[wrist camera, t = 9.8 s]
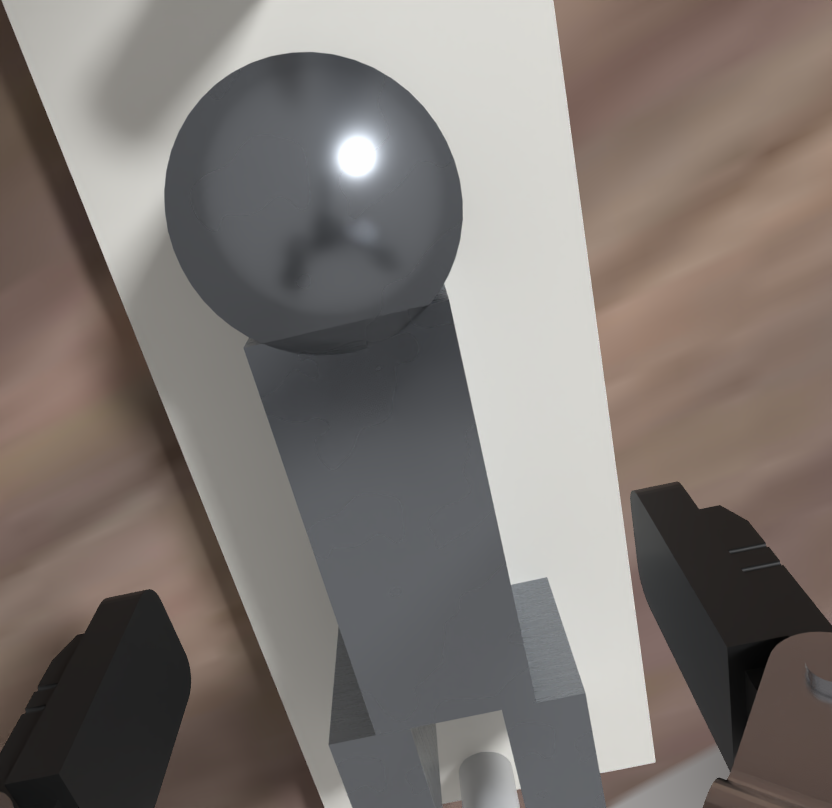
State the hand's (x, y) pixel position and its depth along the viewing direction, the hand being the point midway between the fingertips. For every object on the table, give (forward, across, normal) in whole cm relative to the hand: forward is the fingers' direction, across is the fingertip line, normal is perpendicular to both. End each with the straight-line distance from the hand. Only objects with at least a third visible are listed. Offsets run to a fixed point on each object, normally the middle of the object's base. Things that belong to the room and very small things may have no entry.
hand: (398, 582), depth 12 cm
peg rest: (+7, 0, +1) cm, 7 cm away
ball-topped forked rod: (+6, 0, +1) cm, 6 cm away
